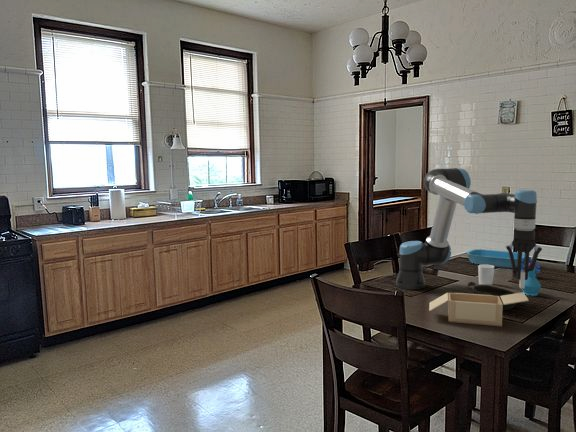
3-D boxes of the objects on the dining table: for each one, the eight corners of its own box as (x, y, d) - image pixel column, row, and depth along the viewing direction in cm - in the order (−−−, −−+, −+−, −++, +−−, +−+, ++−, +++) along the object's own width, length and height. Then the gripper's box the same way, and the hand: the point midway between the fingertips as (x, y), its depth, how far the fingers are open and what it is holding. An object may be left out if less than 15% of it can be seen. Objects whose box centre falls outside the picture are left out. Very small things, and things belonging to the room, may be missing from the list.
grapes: (515, 277, 259) (516, 256, 257) (517, 274, 264) (518, 254, 263) (539, 279, 252) (540, 258, 251) (540, 277, 258) (541, 256, 257)
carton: (448, 322, 189) (449, 301, 188) (447, 312, 201) (448, 292, 200) (502, 327, 183) (502, 305, 181) (497, 316, 195) (498, 295, 194)
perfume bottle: (529, 297, 221) (530, 266, 219) (515, 292, 230) (516, 262, 228) (545, 295, 224) (546, 265, 222) (530, 290, 232) (532, 261, 231)
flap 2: (528, 299, 179) (528, 300, 179) (523, 292, 190) (523, 292, 190) (503, 303, 182) (503, 304, 182) (500, 296, 193) (500, 296, 193)
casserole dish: (460, 263, 295) (461, 252, 294) (471, 257, 312) (471, 247, 312) (524, 271, 272) (524, 259, 271) (532, 264, 290) (532, 253, 289)
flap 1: (429, 302, 202) (430, 303, 202) (429, 310, 192) (429, 311, 192) (447, 292, 199) (448, 293, 199) (448, 299, 189) (448, 300, 189)
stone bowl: (456, 305, 210) (457, 285, 210) (479, 297, 228) (480, 278, 227) (513, 316, 193) (515, 294, 192) (534, 307, 210) (535, 287, 210)
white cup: (495, 286, 240) (496, 267, 239) (479, 286, 242) (479, 267, 241) (491, 282, 248) (492, 264, 247) (476, 282, 250) (476, 264, 248)
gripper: (507, 230, 180) (505, 288, 183) (544, 231, 176) (541, 291, 179) (505, 227, 188) (502, 283, 190) (540, 228, 184) (538, 286, 186)
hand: (521, 287), depth 185 cm, fingers closed
